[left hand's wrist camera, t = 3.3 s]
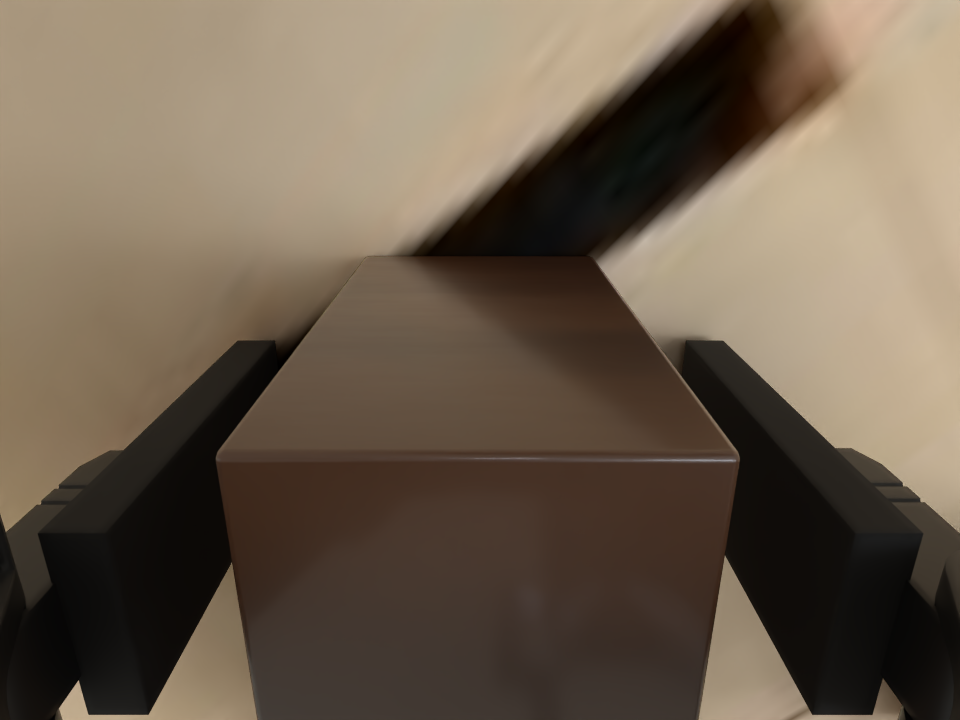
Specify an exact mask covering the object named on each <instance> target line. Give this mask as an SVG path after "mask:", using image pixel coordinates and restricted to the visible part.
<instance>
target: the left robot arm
mask: <svg viewBox="0 0 960 720" xmlns="http://www.w3.org/2000/svg"><path fill="white" fill-rule="evenodd" d="M277 373H278V364H277V355H276V346H275V341H237V342H236V343H235V344H234V345H233V346H232V347H231V348H230V349H229V350H228V351H227V352H226V353H224V354H223V355H222V356H221V357H220V358H219V359H218V360H217V361H216V362H215V363H214V364H213V365H212V366H211V367H210V368H209V369H208V370H207V371H206V372H205V373H204V374H203V375H202V376H201V377H199V378H198V379H197V380H196V381H195V382H194V383H193V384H192V385H191V386H190V387H189V388H188V389H187V390H186V391H185V392H184V393H183V394H182V395H181V396H180V397H179V398H178V399H177V400H176V401H175V402H173V403H172V404H171V405H170V406H169V407H168V408H167V409H166V410H165V411H164V412H163V413H162V414H161V415H160V416H159V417H158V418H157V419H156V420H155V421H154V422H153V423H152V424H151V425H150V426H148V427H147V428H146V429H145V430H144V431H143V432H142V433H141V434H140V435H139V436H138V437H137V438H136V439H135V440H134V441H133V442H132V443H131V444H130V445H129V446H128V447H127V448H126V449H125V450H124V451H108V452H106V453H104V454H103V455H101V456H99V457H97V458H95V459H93V460H91V461H89V462H87V463H85V464H84V465H82V466H80V467H79V468H77V469H76V470H75V471H74V472H73V473H72V474H71V475H70V476H69V477H67V478H66V479H65V480H64V481H63V482H62V483H61V484H60V485H59V489H54V490H53V491H52V492H51V493H50V494H48V495H47V496H46V497H45V498H44V499H43V500H42V501H41V502H42V503H41V505H36V506H35V507H34V508H33V509H32V510H31V511H29V512H28V513H27V514H26V515H25V516H24V517H23V518H22V519H21V520H19V521H18V522H17V523H16V524H15V525H14V526H13V527H12V528H10V529H9V530H8V531H7V532H5V528H4V525H3V522H2V518H1V515H0V720H62V717H61V714H60V710H59V707H60V706H61V704H62V703H63V702H64V700H65V699H66V697H67V696H68V694H69V693H70V692H71V690H72V689H73V687H74V686H75V684H76V683H77V682H78V680H79V683H80V686H81V690H82V693H83V697H84V700H85V704H86V707H87V711H88V714H89V715H149V713H150V711H151V709H152V707H153V706H154V704H155V702H156V700H157V698H158V696H159V695H160V693H161V691H162V689H163V687H164V685H165V684H166V682H167V680H168V678H169V676H170V674H171V673H172V671H173V669H174V667H175V665H176V663H177V662H178V660H179V658H180V656H181V654H182V652H183V651H184V649H185V647H186V645H187V643H188V641H189V640H190V638H191V636H192V634H193V632H194V630H195V629H196V627H197V625H198V623H199V621H200V619H201V618H202V616H203V614H204V612H205V610H206V608H207V607H208V605H209V603H210V601H211V599H212V597H213V596H214V594H215V592H216V590H217V588H218V587H219V585H220V583H221V581H222V579H223V577H224V576H225V574H226V572H227V570H228V568H229V566H230V565H231V563H232V558H231V552H230V546H229V539H228V533H227V527H226V521H225V515H224V508H223V502H222V496H221V490H220V483H219V477H218V471H217V465H216V456H217V452H218V451H219V449H220V448H221V447H222V445H223V444H224V443H225V441H226V440H227V439H228V437H229V436H230V435H231V433H232V432H233V431H234V430H235V428H236V427H237V426H238V424H239V423H240V422H241V420H242V419H243V418H244V416H245V415H246V414H247V412H248V411H249V410H250V409H251V407H252V406H253V405H254V403H255V402H256V401H257V399H258V398H259V397H260V395H261V394H262V393H263V391H264V390H265V389H266V388H267V386H268V385H269V384H270V382H271V381H272V380H273V378H274V377H275V376H276V374H277ZM682 378H683V379H684V381H685V382H686V383H687V385H688V386H689V387H690V389H691V390H692V391H693V393H694V394H695V395H696V397H697V398H698V399H699V401H700V402H701V403H702V405H703V406H704V407H705V409H706V410H707V411H708V413H709V414H710V415H711V417H712V418H713V419H714V421H715V422H716V423H717V425H718V426H719V427H720V429H721V430H722V431H723V433H724V434H725V435H726V437H727V438H728V439H729V441H730V442H731V443H732V445H733V446H734V447H735V449H736V450H737V451H738V454H739V457H740V462H739V469H738V475H737V481H736V487H735V494H734V500H733V506H732V512H731V519H730V525H729V531H728V538H727V544H726V550H725V556H726V558H727V559H728V561H729V563H730V565H731V567H732V569H733V570H734V572H735V574H736V576H737V578H738V580H739V581H740V583H741V585H742V587H743V589H744V591H745V592H746V594H747V596H748V598H749V600H750V602H751V603H752V605H753V607H754V609H755V611H756V613H757V614H758V616H759V618H760V620H761V622H762V624H763V625H764V627H765V629H766V631H767V633H768V634H769V636H770V638H771V640H772V642H773V644H774V645H775V647H776V649H777V651H778V653H779V655H780V656H781V658H782V660H783V662H784V664H785V666H786V667H787V669H788V671H789V673H790V675H791V677H792V678H793V680H794V682H795V684H796V686H797V688H798V689H799V691H800V693H801V695H802V697H803V699H804V700H805V702H806V704H807V706H808V708H809V710H810V711H811V713H812V715H872V714H873V710H874V707H875V703H876V700H877V696H878V693H879V689H880V686H881V682H882V679H883V678H884V680H885V681H886V683H887V684H888V685H889V687H890V688H891V690H892V691H893V692H894V694H895V695H896V697H897V698H898V700H899V701H900V702H901V704H902V707H901V710H900V714H899V717H898V720H960V533H959V532H957V531H956V530H955V529H954V528H953V527H952V526H951V525H950V524H948V523H947V522H946V521H945V520H944V519H943V518H942V517H941V516H939V515H938V514H937V513H936V512H935V511H934V510H933V509H932V508H930V507H929V506H928V505H927V504H926V503H925V502H920V498H919V497H918V496H917V495H916V494H915V493H914V492H912V491H911V490H910V489H909V488H908V487H903V483H902V482H901V481H900V480H899V479H898V478H897V477H896V476H894V475H893V474H892V473H891V472H890V471H889V470H888V469H887V468H885V467H884V466H883V465H882V464H880V463H878V462H876V461H875V460H873V459H871V458H869V457H867V456H865V455H863V454H861V453H859V452H857V451H855V450H853V449H852V448H834V447H833V446H832V445H831V444H830V443H829V442H828V441H827V440H826V439H825V438H824V437H823V436H822V435H821V434H820V433H819V432H818V431H817V430H815V429H814V428H813V427H812V426H811V425H810V424H809V423H808V422H807V421H806V420H805V419H804V418H803V417H802V416H801V415H800V414H799V413H798V412H797V411H796V410H795V409H794V408H793V407H792V406H791V405H789V404H788V403H787V402H786V401H785V400H784V399H783V398H782V397H781V396H780V395H779V394H778V393H777V392H776V391H775V390H774V389H773V388H772V387H771V386H770V385H769V384H768V383H767V382H766V381H764V380H763V379H762V378H761V377H760V376H759V375H758V374H757V373H756V372H755V371H754V370H753V369H752V368H751V367H750V366H749V365H748V364H747V363H746V362H745V361H744V360H743V359H742V358H741V357H739V356H738V355H737V354H736V353H735V352H734V351H733V350H732V349H731V348H730V347H729V346H728V345H727V344H726V343H725V342H724V341H686V345H685V354H684V362H683V371H682Z"/></svg>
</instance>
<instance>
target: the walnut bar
mask: <svg viewBox="0 0 960 720" xmlns="http://www.w3.org/2000/svg"><path fill="white" fill-rule="evenodd" d="M739 462H740V457H739V454H738V451H737V450H736V449H735V447H734V446H733V445H732V443H731V442H730V441H729V439H728V438H727V437H726V435H725V434H724V433H723V431H722V430H721V429H720V427H719V426H718V425H717V423H716V422H715V421H714V419H713V418H712V417H711V415H710V414H709V413H708V411H707V410H706V409H705V407H704V406H703V405H702V403H701V402H700V401H699V399H698V398H697V397H696V395H695V394H694V393H693V391H692V390H691V389H690V387H689V386H688V385H687V383H686V382H685V381H684V379H683V378H682V377H681V375H680V374H679V372H678V371H677V370H676V368H675V367H674V366H673V364H672V363H671V362H670V360H669V359H668V358H667V356H666V355H665V354H664V352H663V351H662V350H661V348H660V347H659V346H658V344H657V343H656V342H655V340H654V339H653V338H652V336H651V335H650V334H649V332H648V331H647V330H646V328H645V327H644V326H643V324H642V323H641V322H640V320H639V319H638V318H637V316H636V315H635V314H634V312H633V311H632V310H631V308H630V307H629V306H628V304H627V303H626V302H625V300H624V299H623V298H622V296H621V295H620V294H619V292H618V291H617V290H616V288H615V287H614V286H613V284H612V283H611V282H610V280H609V279H608V278H607V276H606V275H605V274H604V272H603V271H602V270H601V268H600V267H599V266H598V264H597V263H596V262H595V260H594V259H593V258H592V257H590V256H368V257H366V258H365V259H364V260H363V261H362V263H361V264H360V265H359V267H358V268H357V269H356V271H355V272H354V273H353V275H352V276H351V277H350V279H349V280H348V281H347V282H346V284H345V285H344V286H343V288H342V289H341V290H340V292H339V293H338V294H337V296H336V297H335V298H334V300H333V301H332V302H331V304H330V305H329V306H328V307H327V309H326V310H325V311H324V313H323V314H322V315H321V317H320V318H319V319H318V321H317V322H316V323H315V325H314V326H313V327H312V328H311V330H310V331H309V332H308V334H307V335H306V336H305V338H304V339H303V340H302V342H301V343H300V344H299V346H298V347H297V348H296V349H295V351H294V352H293V353H292V355H291V356H290V357H289V359H288V360H287V361H286V363H285V364H284V365H283V367H282V368H281V369H280V370H279V372H278V373H277V374H276V376H275V377H274V378H273V380H272V381H271V382H270V384H269V385H268V386H267V388H266V389H265V390H264V391H263V393H262V394H261V395H260V397H259V398H258V399H257V401H256V402H255V403H254V405H253V406H252V407H251V409H250V410H249V411H248V412H247V414H246V415H245V416H244V418H243V419H242V420H241V422H240V423H239V424H238V426H237V427H236V428H235V430H234V431H233V432H232V433H231V435H230V436H229V437H228V439H227V440H226V441H225V443H224V444H223V445H222V447H221V448H220V449H219V451H218V452H217V456H216V465H217V471H218V477H219V483H220V490H221V496H222V502H223V508H224V515H225V521H226V527H227V533H228V539H229V546H230V552H231V558H232V564H233V570H234V577H235V583H236V589H237V595H238V602H239V608H240V614H241V620H242V626H243V633H244V639H245V645H246V651H247V658H248V664H249V670H250V676H251V682H252V689H253V695H254V701H255V707H256V713H257V720H698V719H699V713H700V707H701V701H702V694H703V688H704V682H705V676H706V669H707V663H708V657H709V650H710V644H711V638H712V632H713V625H714V619H715V613H716V607H717V600H718V594H719V588H720V581H721V575H722V569H723V563H724V556H725V550H726V544H727V538H728V531H729V525H730V519H731V512H732V506H733V500H734V494H735V487H736V481H737V475H738V469H739Z"/></svg>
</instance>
